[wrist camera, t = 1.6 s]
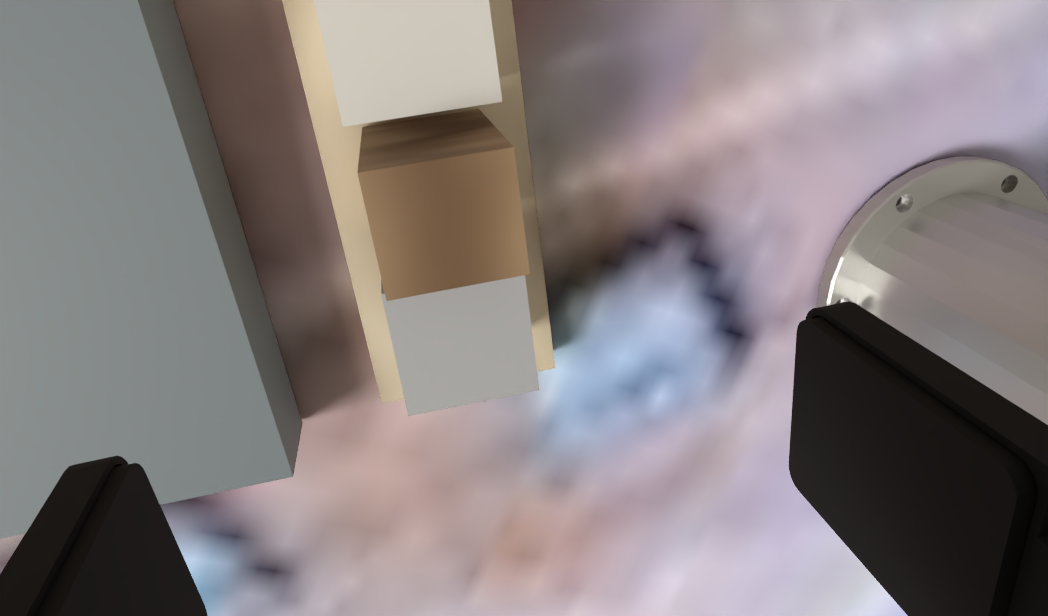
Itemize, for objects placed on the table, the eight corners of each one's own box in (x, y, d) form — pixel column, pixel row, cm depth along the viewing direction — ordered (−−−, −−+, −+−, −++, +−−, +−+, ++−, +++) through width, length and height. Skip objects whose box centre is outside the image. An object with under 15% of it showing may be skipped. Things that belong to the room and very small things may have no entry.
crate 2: (502, 226, 29) (524, 268, 24) (516, 333, 31) (539, 390, 27) (381, 247, 28) (381, 294, 24) (404, 354, 30) (408, 416, 26)
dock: (132, -130, 23) (87, -153, 19) (302, 423, 32) (292, 476, 29) (-347, -80, 21) (-495, -95, 18) (-21, 488, 31) (-74, 554, 27)
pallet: (486, -130, 25) (542, -193, 17) (545, 348, 34) (602, 466, 25) (263, -104, 24) (202, -157, 16) (381, 381, 33) (383, 515, 24)
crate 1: (460, -65, 24) (478, -79, 20) (481, 83, 26) (502, 101, 22) (315, -47, 24) (300, -56, 19) (349, 103, 26) (343, 126, 21)
